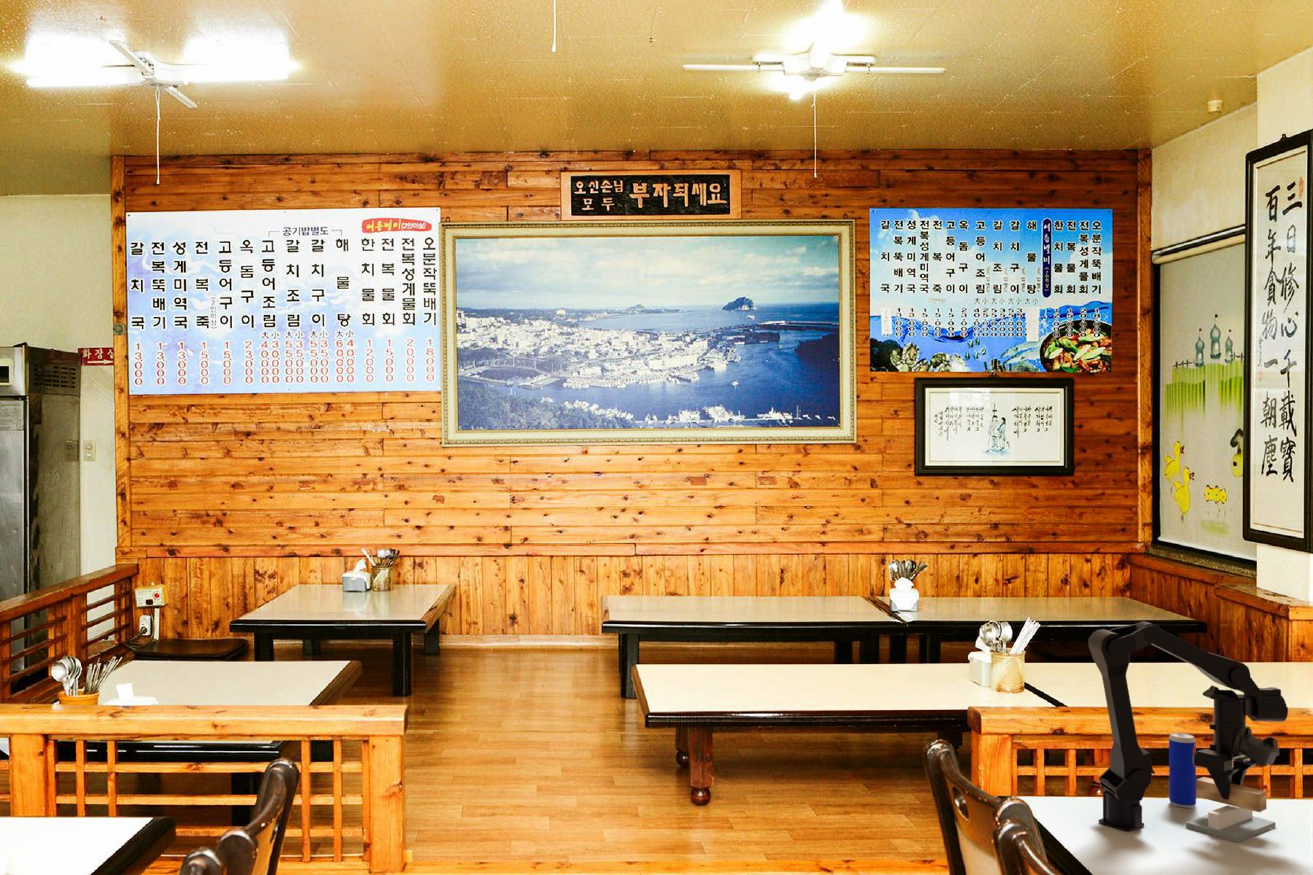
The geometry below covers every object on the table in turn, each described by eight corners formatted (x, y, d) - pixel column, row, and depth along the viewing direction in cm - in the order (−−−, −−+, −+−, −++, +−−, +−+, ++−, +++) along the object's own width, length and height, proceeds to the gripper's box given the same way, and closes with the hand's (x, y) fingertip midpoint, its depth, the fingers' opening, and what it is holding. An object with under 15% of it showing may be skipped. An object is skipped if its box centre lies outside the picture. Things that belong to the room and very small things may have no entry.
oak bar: (1196, 796, 208) (1196, 779, 208) (1203, 793, 210) (1203, 776, 211) (1259, 812, 199) (1259, 794, 199) (1266, 808, 201) (1266, 791, 201)
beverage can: (1199, 809, 216) (1198, 739, 216) (1173, 807, 217) (1173, 737, 217) (1191, 801, 221) (1191, 733, 221) (1166, 799, 222) (1165, 731, 222)
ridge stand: (1185, 827, 204) (1185, 807, 204) (1225, 813, 213) (1224, 794, 213) (1236, 842, 196) (1236, 821, 196) (1275, 826, 205) (1275, 807, 205)
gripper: (1248, 735, 194) (1249, 816, 193) (1293, 723, 204) (1294, 800, 203) (1191, 722, 203) (1191, 800, 202) (1236, 712, 213) (1237, 786, 213)
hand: (1230, 797), depth 205 cm, fingers closed on oak bar, 4 cm apart
